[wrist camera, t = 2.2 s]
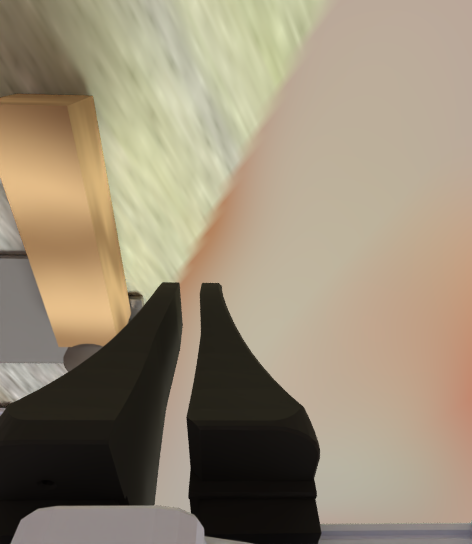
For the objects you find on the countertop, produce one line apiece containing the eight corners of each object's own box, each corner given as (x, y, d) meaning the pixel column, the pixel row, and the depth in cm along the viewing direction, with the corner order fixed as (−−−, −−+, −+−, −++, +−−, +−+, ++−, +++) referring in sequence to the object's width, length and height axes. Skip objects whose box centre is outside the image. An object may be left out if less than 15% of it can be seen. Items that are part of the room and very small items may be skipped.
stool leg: (138, 349, 25) (127, 384, 23) (87, 348, 25) (70, 384, 23) (94, 95, 16) (68, 106, 14) (14, 93, 16) (-27, 103, 14)
